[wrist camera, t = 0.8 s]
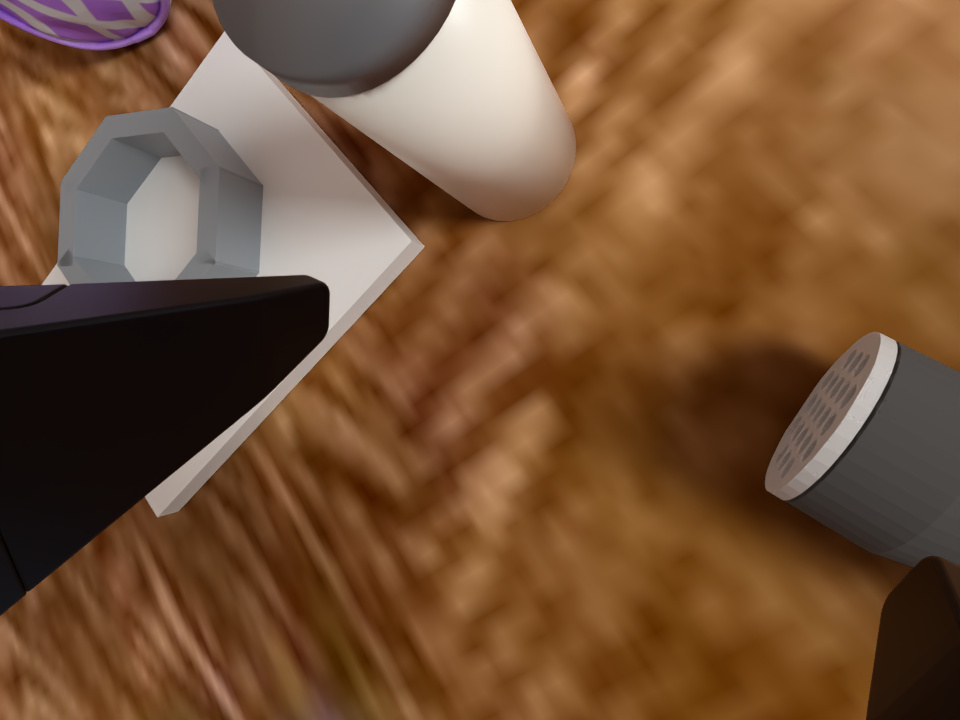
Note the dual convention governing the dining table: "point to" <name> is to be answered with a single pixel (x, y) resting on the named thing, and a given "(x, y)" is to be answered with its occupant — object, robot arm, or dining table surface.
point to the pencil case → (88, 20)
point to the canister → (425, 88)
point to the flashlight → (878, 453)
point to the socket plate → (294, 224)
